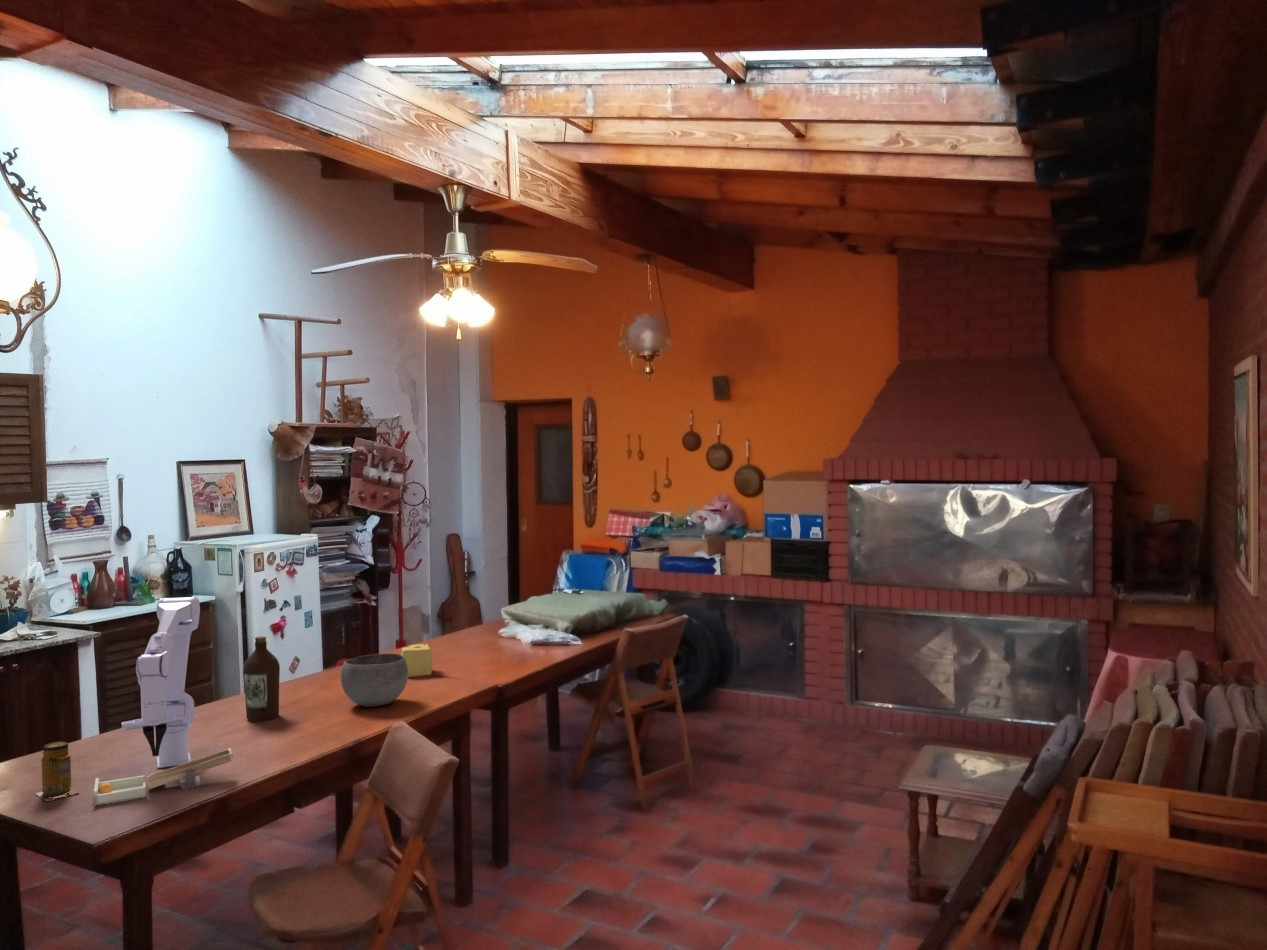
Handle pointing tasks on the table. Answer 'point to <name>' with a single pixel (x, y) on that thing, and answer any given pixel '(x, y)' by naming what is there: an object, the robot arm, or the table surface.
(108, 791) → the ball
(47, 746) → the condiment
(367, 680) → the bowl
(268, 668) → the olive oil
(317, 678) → the table surface
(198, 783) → the pivot
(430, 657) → the cheese
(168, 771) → the lever
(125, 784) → the dish
